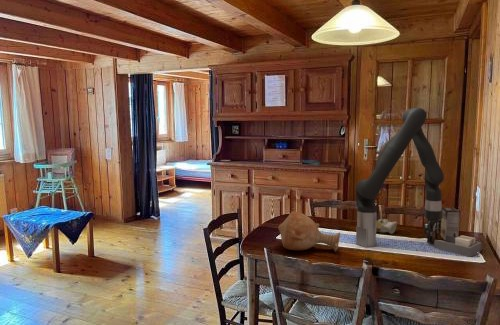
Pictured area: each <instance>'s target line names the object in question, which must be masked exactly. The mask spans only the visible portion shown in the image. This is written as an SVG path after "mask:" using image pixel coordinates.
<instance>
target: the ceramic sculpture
mask: <svg viewBox="0 0 500 325" xmlns="http://www.w3.org/2000/svg"><path fill="white" fill-rule="evenodd" d="M397 227H398V222H397V220H396V221H389V219H388V218H386V217H383V218H382V219H380V218H379V219H378V220H376V233H378V232H379V233H389V234H391V235H393V234H394V233H395V231H396V229H397Z"/></svg>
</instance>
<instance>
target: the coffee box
mask: <svg viewBox="0 0 500 325" xmlns="http://www.w3.org/2000/svg"><path fill="white" fill-rule="evenodd" d="M460 213H461V212H460V211H459V210H458V209H457V208H455V207H446V206H445V207H442V212H441V219H440V220H441V221H442V222H441V228H440V236H441V238H442V239H443V240H444V242H445V241H446V235H449V236H454V237H459V233H460V232H459V231H460V230H459V229H460Z"/></svg>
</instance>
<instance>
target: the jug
mask: <svg viewBox="0 0 500 325" xmlns="http://www.w3.org/2000/svg"><path fill="white" fill-rule="evenodd" d="M319 227H320V224H319V223H316V222H315V221H314V220H313V219H312V218H311V217H309V216H308V215H306V214H305V213H302V212H300V211H297V210H296V211H295V210H294V211H291V212H289V214H288V216H287V217H286V218H285V220H283V222H281V223H280V224H279V225H278V231H279V235H280V237H281V238H280V239H281V243H282V246H283V248H285V249H286V250H289V251H304V250H305V251H306V250H308V249H309V250H310V249H311V248H313V247H314V246H315V245H317V244H325V245H327V246H329V247H331V249H333V250H334V252H335V253H336V252H337V250H338V248H339V244H340V237H341V232H338V233H337V234H331V235H330V234H326V233H323V232H321V231H320V229H319Z"/></svg>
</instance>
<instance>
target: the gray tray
mask: <svg viewBox="0 0 500 325" xmlns="http://www.w3.org/2000/svg"><path fill="white" fill-rule="evenodd" d="M455 238H457V237H454V236H449V235H446V241H445V240H444V241H442V240H440V239H439V240H438V239H437V240H434V249H436V250H440V251H443V252H444V251H445V252H448V253H452V254H457V255H461V256H464V257H468V258H471V257H472V256H475V255H477V252H478V253H480V252H481V251H482V246H483V244H482V242H481V241H476V240H475V244H474V245H472V246H470V247H465V246H461V245H456V244H455Z"/></svg>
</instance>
